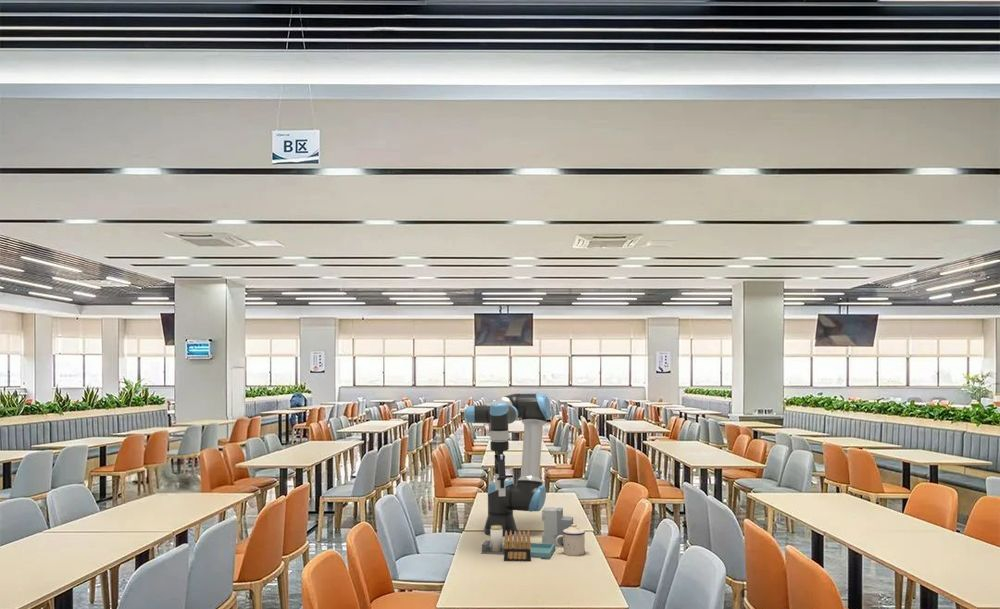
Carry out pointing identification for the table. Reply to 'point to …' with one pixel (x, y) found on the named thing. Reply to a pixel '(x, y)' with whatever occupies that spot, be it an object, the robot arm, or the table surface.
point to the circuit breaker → (554, 525)
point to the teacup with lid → (573, 541)
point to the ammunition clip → (522, 549)
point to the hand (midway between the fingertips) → (500, 492)
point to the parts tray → (541, 550)
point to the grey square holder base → (487, 549)
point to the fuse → (496, 538)
